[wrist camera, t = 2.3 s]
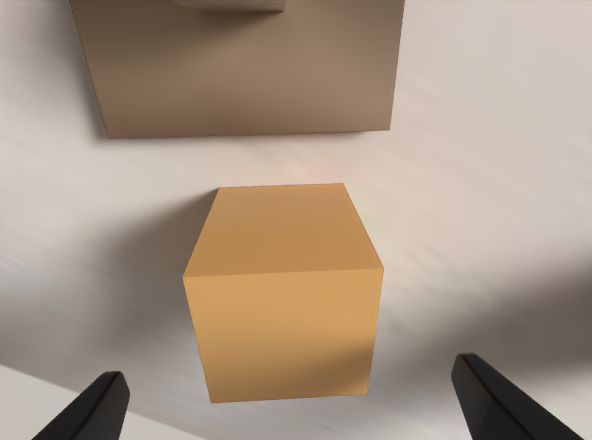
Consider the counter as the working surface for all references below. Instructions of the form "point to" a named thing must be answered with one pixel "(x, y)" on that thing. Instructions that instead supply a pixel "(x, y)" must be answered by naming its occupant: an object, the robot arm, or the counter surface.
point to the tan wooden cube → (284, 294)
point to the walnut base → (241, 67)
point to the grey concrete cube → (232, 5)
